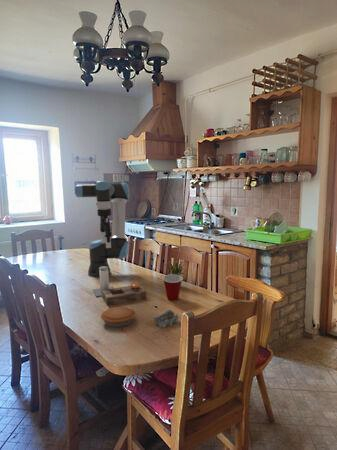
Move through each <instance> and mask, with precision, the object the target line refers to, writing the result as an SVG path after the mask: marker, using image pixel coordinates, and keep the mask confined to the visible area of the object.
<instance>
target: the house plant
mask: <svg viewBox="0 0 337 450" xmlns="http://www.w3.org/2000/svg"><path fill="white" fill-rule="evenodd" d="M172 262H173V263H174V265H173V264H172V263H171V262H169V261H168V264H169V265H167V264H166V266H168V267H169V268H170V269H169V270H168V269H167V270H166V271H167V273H166V275H171V274H174V275H179V276H181V277H183V275H185V273H186V271H185V270H184V269H185V267H184V266H186V263H184V262H185V260H183V261H181V262H180V263H179V265H178V261H177V260H173V259H172ZM183 263H184V264H183ZM182 274H183V275H182ZM181 286H182V285H181ZM181 286H180V288H181Z"/></svg>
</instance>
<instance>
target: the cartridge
mask: <svg viewBox="0 0 337 450" xmlns="http://www.w3.org/2000/svg"><path fill="white" fill-rule="evenodd" d="M99 273H100V276H99V286H100V287H99V288H100V291H101V292H102V290H107V289H109V287H110V278H109V275H110V274H108V267H107V266H102V267H99Z"/></svg>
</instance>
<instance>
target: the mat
mask: <svg viewBox="0 0 337 450" xmlns="http://www.w3.org/2000/svg"><path fill="white" fill-rule="evenodd" d="M113 288H115V287H114V286H109V289H113ZM92 291H93V294H94V296H95V298H99V297H100V298H101V297H102V292H101V291H100V287H99V288H93V289H92Z"/></svg>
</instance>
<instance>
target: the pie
mask: <svg viewBox="0 0 337 450" xmlns="http://www.w3.org/2000/svg"><path fill="white" fill-rule="evenodd" d="M135 316H136V311H135V309H133V308H131V307H127V306H114V307H110V308H108V309H106V310H104V311H103V312H101V315H100V317H101V319H102V320H103V321H104V323H105V324H106V325H107V326H109V327H112V328H119V327H121V328H122V327H125V326H127V325H129V324H131V323H132V321H133V319H134V317H135Z"/></svg>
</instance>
